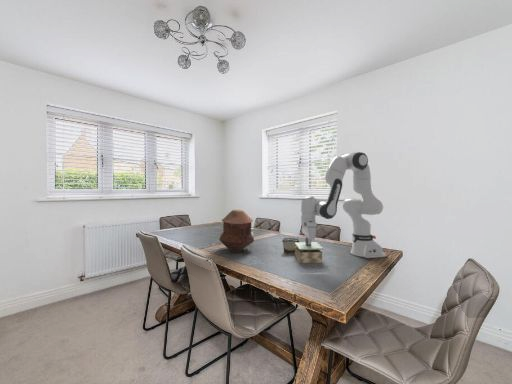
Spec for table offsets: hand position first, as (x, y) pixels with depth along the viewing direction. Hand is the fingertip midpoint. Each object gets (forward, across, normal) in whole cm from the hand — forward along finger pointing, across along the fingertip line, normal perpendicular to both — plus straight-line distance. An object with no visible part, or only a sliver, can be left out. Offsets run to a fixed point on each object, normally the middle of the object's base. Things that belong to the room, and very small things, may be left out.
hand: (308, 243), depth 150 cm
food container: (+11, -17, -9) cm, 22 cm away
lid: (+2, 0, 0) cm, 2 cm away
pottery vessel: (+11, -24, -48) cm, 54 cm away
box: (+11, +1, 0) cm, 11 cm away
